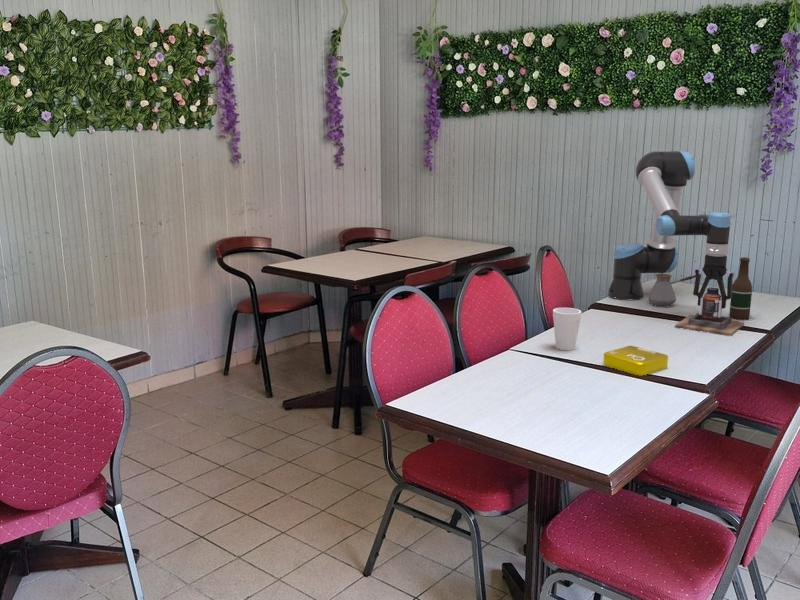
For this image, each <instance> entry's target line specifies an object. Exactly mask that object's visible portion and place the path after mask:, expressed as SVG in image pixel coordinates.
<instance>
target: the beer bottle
mask: <svg viewBox="0 0 800 600" xmlns="http://www.w3.org/2000/svg"><path fill="white" fill-rule="evenodd" d="M739 261H740V263H739V269H738V274H737V277H736V279H734V281H733V283H732V298H731V299H730V303H729V316H728V317H731V318H732V320H735V319H736V320H735V321H747V320H749V319H750V313H751V303H752V293H753V285H752V282H751V280H750V279H749V271H750V270H749V268H750V267H749V264H750V262H751V261H750V257H740V258H739Z"/></svg>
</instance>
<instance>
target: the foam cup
mask: <svg viewBox="0 0 800 600" xmlns="http://www.w3.org/2000/svg"><path fill="white" fill-rule="evenodd" d="M552 319H553V327H554V328H553V329H554V342H555V349H556V350H559V349H560V351H566V350H570V351H574V350H575V348H576V343H577V339H578V333H579V329H580V323H581V319H582V310H580V309H578V308H573V307H555V308H554V309H552Z"/></svg>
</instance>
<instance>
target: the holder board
mask: <svg viewBox="0 0 800 600" xmlns="http://www.w3.org/2000/svg"><path fill="white" fill-rule="evenodd" d="M699 314H700V312H698V313H695V314H689V315H688V316H686V317H685V318H683V319H682V320H680V321H679V322H677V323H676V324H675V325H674V328H675V327H676V328H675V329H680V328H683V329H682V330H687V329H689V330H688V331H694V330H695V331H694V332H700V331H702V332H701V333H707V332H709V333H708V334H714V335H722V336H730V337H731V336H733V335H734V334H735V333H737V332H738V331H739V330H740V329H741V328H742V327H743V326H744V325H745V322H744V321H741V320H733V319H732V318H731V317H729V316H723V315H722V316H721V317H719V318H717V319H707V318H704V317H702V315H699Z"/></svg>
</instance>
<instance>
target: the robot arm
mask: <svg viewBox="0 0 800 600" xmlns="http://www.w3.org/2000/svg"><path fill="white" fill-rule="evenodd" d="M695 172H696V165H695V160H694V157H693V155H692V154H691V153H690V152H688V151H680V150H678V151H677V150H674V151H672V150H671V151H668V150H667V151H650V152H648V153H646V154H645V155H643V156H642V157H641V158H640V159H639V160H638V162H637V164H636V168H635V177H636V180H637V182H638V184H639V185H640V186H642V187H643V188H644V190H645V191H644V192H645V193H646V195H647V197H648V199H649V201H650V203H651V205H652V207H653V210H654V212H655V217H654V223H653V231H652V235H651V236H652V237H651V238H650V239H649V240H648V241H647V243H646V246H643V243H639V242H638V243H637V242H636V243H633V242H632V243H631V242H630V243H624V244H620V245H617V246H616V248H614V256H613V258H614V260H613V275H612V276H613V278H612V280H611V283H610V284H609V285H610V286H609V288H608V291H607V296H608V297H609V298H611V297H613V298H612V299H615V298H614V297H616V298H619V299H618V300H622V299H638V300H642V299H643V298H644V295H645V294H644V288H643V285H642V281H641V279H642V278H641V277H642V274H668V273H671V272H673V271H674V270H675V269H676V268H677V266H678V263H679V250H678V248H677V247H676V244H675V242H674V241H673V240H674V239H673V238H674V237H675V236H706V242H705V256H704V265H703V267H701V268H696V269H695V270H694V273H695V274H694V275H696V278H694V279H695V280H694V287H693V293H692V294H693V296H696V297H697V306H699V313H700V314H699V315H702V310H703V299H704V294H705V293H706V291H707V288H708V285H709V283H710V280H715V281H717V282H716V283H717V284H718V289H719V294H720V295H721V300H719V311H718V317H721V316H723V309H726V306H727V300H731V298H732V285H733V283H734V281H733V279H734V276H735V272H734V271H732V272H731V271H729V270H728V269H727V262H728V256H727V254H728V251H729V249H728V248H729V240H730V230H731V224H732V223H731V215H730V213H728V212H719V211H718V212H717V211H714V212H709V214H706V213H704V214H701V213H699V214H697V215H695V214H694V215H681V214H680V213H679V206H680V202H681V195H682V189H683V188H685V187H687V183H688V181H690V180H693V178H694V176H695ZM702 274H704V275H705V278H704V280H703V283H702V286H701V288H700V284H701V278H702ZM725 275H726V277H727V280H726V281H727V286H726V287H727V288H725V285H724V279H723V278H724V276H725ZM726 292H727V293H726Z"/></svg>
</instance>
